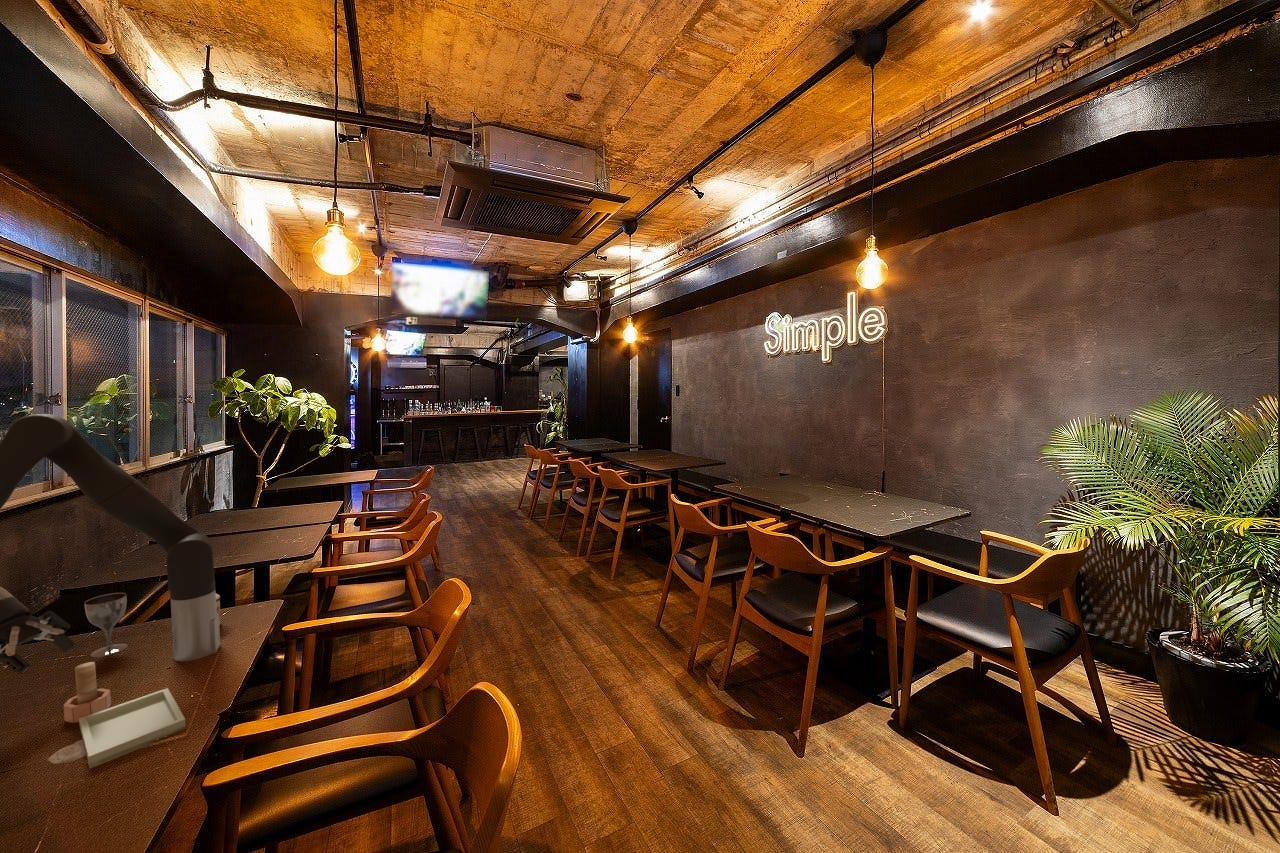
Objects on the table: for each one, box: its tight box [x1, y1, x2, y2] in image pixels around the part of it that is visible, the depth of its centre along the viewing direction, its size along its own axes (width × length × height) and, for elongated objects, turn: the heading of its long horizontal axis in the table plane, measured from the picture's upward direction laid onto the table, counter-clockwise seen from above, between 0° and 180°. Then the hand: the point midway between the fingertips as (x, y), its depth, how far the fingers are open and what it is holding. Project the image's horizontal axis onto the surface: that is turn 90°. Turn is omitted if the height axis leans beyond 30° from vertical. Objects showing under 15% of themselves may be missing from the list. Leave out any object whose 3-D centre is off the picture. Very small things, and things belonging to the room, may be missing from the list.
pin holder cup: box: [63, 688, 112, 724], centre depth 112 cm, size 7×7×4 cm
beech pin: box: [74, 661, 98, 705], centre depth 111 cm, size 3×3×11 cm
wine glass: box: [84, 592, 129, 658], centre depth 138 cm, size 8×8×15 cm
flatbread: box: [46, 739, 87, 765], centre depth 100 cm, size 8×8×1 cm
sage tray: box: [78, 687, 187, 769], centre depth 107 cm, size 18×14×2 cm
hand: (48, 658), depth 111 cm, fingers open, 8 cm apart
